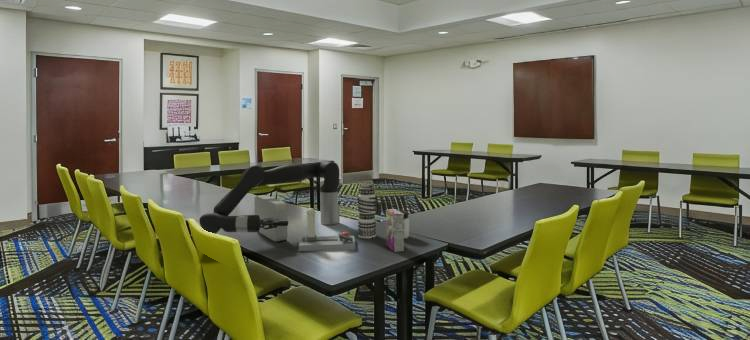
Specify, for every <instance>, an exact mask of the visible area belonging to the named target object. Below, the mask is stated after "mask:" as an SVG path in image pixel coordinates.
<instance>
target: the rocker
mask: <svg viewBox="0 0 750 340" xmlns="http://www.w3.org/2000/svg"><path fill="white" fill-rule="evenodd" d="M338 236H339V238H341V239H344V240H345V241H347V240H348V241H353V238H352V237H349V236H346V235H342V233H339V234H338Z"/></svg>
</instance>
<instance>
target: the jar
mask: <svg viewBox="0 0 750 340" xmlns="http://www.w3.org/2000/svg"><path fill="white" fill-rule="evenodd" d="M397 210H398V211H400V212H401V213H403V214H404V240H405V239H409V238H410V217H409V211H408V210H401V209H400V210H399V209H397ZM408 237H409V238H408Z"/></svg>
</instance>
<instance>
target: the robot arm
mask: <svg viewBox="0 0 750 340" xmlns="http://www.w3.org/2000/svg"><path fill="white" fill-rule="evenodd" d="M312 178H313V179H314V178H320V179H321V178H323V184H322V185H320V187H319V191H320V192H319V193H320V195H319V196H320V224H322V225H324V226H325V225H326V226H333V225H337V224H339V223H340V219H341V218H340V205H339V196H338V194H339V193H338V191H339V190H338V189H339V186H340V167H339V165H338V163H337V162H335V161H330V160H329V161H328V160H324V161H319V162H313V163H291V164H284V165H279V166H277V167H275V168H270V169H267V170H264V169H263V168H262V167H261V166H259V165H256V164H255V165H253V164H252V165H250V166H249V167H247V168H246V169H245V170H243V172H242V173H241V175H240V180H239V181H238V183H237V184H235V186H234V187H233V188H232V189H231V190H229V192H228V193H226V194H225V195H224V196H223V197H222V198H221V199H220V200H219V202H217V204H215V206H214V208H213V212H207V213H204V214H203V215H201V216H200V217H199V221H198V222H199V225H200V227H202V228H203V229H204V230H206V231H208V232H212V233H215V234H217V233H219V231H220V230H221V229H222V230H223V231H224V232H226V233H260V232H259V230H260V228H263V229H265V230H266V229H272V228H277V227H279V226H287V227H288V226H289V220H288V219H287V220H279V219H275V218H264V219H262V220H260V217H259V215H255V214H244V215H242V214H241V215H230V214H231V213H232V212H233V211H234V210H235V209H236V208H237V207H238V206H239V204H240V202H241V201H242V200H243V199H244V198H245V196H246V195H247V194H249V192H251V190H252V189H255V188H260V187H264V186H269V185H280V184H293V183H299V182H302V181H304V180H307V179H312ZM202 228H201V229H202ZM215 234H214V235H215Z"/></svg>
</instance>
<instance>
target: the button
mask: <svg viewBox="0 0 750 340" xmlns="http://www.w3.org/2000/svg"><path fill="white" fill-rule="evenodd" d="M350 233H351V232H350V231H341V234H342V235H346V236H349V237H350V236H351V235H350Z"/></svg>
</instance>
